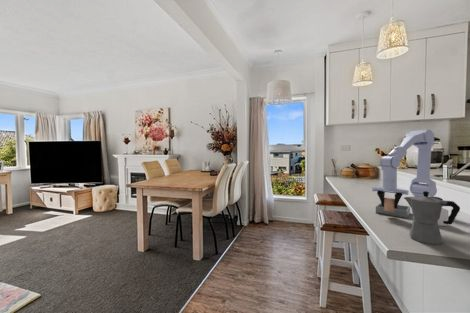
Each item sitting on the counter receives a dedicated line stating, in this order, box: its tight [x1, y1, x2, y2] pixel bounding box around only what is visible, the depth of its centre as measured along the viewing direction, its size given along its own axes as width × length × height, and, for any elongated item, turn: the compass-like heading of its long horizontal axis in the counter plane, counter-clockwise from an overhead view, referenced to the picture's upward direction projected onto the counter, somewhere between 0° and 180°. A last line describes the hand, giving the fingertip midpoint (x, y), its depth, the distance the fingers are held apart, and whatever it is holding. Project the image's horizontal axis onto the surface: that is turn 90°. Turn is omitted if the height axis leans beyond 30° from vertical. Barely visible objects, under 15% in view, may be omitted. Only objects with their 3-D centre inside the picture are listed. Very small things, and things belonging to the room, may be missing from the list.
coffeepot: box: [403, 191, 461, 246], centre depth 78 cm, size 15×9×18 cm, turn 35°
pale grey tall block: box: [428, 196, 449, 227], centre depth 97 cm, size 7×7×12 cm
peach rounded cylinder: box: [384, 197, 395, 212], centre depth 106 cm, size 5×5×6 cm
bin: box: [375, 202, 411, 219], centre depth 113 cm, size 13×12×4 cm
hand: (389, 207), depth 106 cm, fingers closed on peach rounded cylinder, 5 cm apart
